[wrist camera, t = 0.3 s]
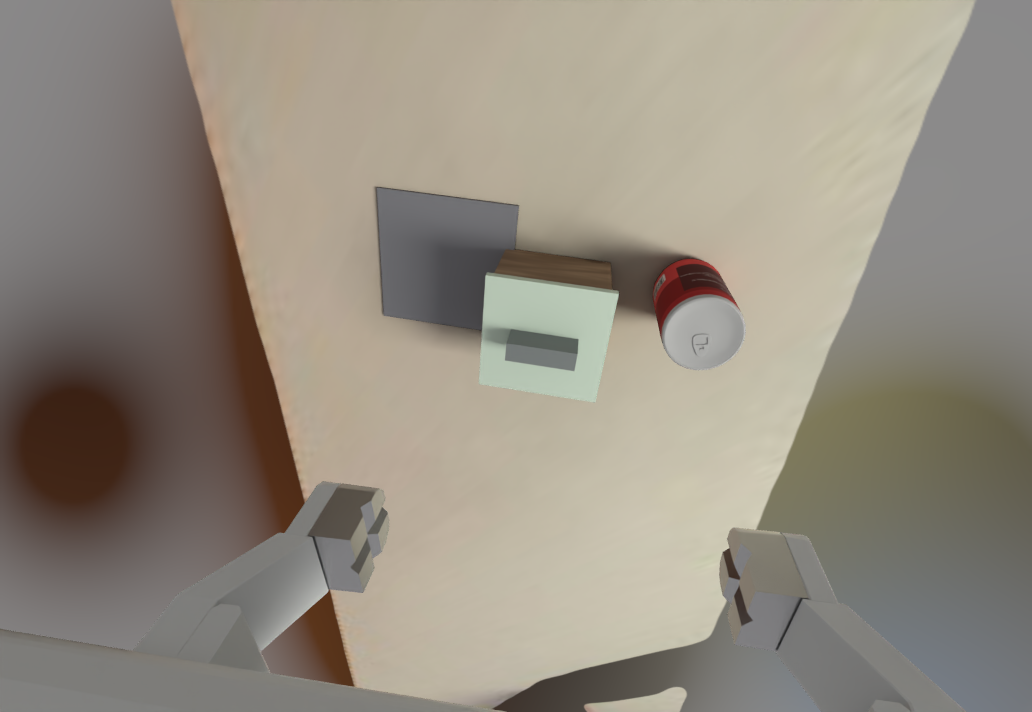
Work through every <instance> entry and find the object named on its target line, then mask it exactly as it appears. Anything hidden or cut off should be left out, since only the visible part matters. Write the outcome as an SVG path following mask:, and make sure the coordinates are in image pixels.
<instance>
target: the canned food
mask: <svg viewBox="0 0 1032 712" xmlns="http://www.w3.org/2000/svg"><path fill="white" fill-rule="evenodd" d="M653 302H654V307H655V312H656V317H657V321H658V326H659V331H660V336H661V339H662V343H663V346H664V349H665V351H666V352H667V354H668V356H669V357H670V358H671V359H672V360H673V361H674V362H675V363H677V364H678V365H680V366H682V367H685V368H687V369H692V370H707V369H712V368H715V367H718V366H720V365H722V364H724V363H726V362H727V361H729V360H730V359H732V357H733V356H734V355H735V354H736V353H737V352H738V351H739V349H740V348H741V346H742V344H743V341H744V338H745V333H746V330H745V322H744V318H743V315H742V313H741V311H740V309H739V307H738V306H737V304H736V302H735V300H734V299H733V297H732V295H731V293H730V292H729V290H728V288H727V286H726V285H725V283H724V281H723V279H722V278H721V276H720V274H719V272H718V271H717V270H716V269H715V268H714V267H713V266H712V265H710V264H709V263H707V262H704V261H701V260H697V259H684V260H680V261H677V262H674V263H673V264H671V265H669V266H668V267H667V268H666V269H664V270H663V271H662V273H661V274H660V275H659V277H658V279H657V281H656V282H655V285H654V289H653Z"/></svg>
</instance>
